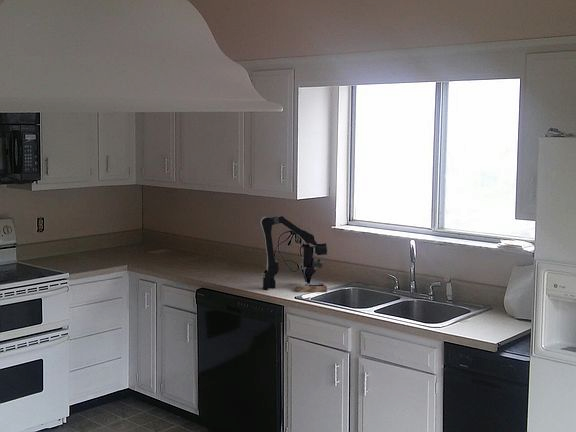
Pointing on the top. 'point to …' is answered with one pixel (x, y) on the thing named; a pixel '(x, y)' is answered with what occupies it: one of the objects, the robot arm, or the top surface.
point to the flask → (314, 284)
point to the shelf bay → (311, 288)
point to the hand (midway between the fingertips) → (307, 283)
